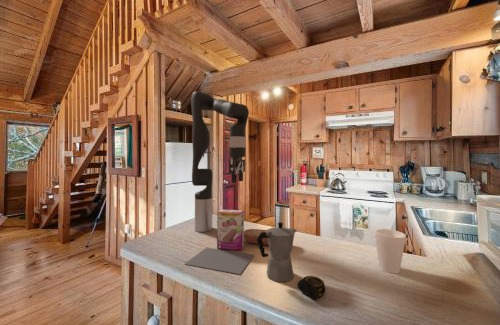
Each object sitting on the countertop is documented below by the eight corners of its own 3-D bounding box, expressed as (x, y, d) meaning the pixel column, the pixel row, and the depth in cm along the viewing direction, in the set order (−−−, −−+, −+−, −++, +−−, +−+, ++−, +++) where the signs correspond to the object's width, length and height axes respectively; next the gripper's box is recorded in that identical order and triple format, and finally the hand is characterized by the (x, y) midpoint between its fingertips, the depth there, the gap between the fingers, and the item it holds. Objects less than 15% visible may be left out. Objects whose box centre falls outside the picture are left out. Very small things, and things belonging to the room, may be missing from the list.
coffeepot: (287, 265, 84) (288, 216, 83) (304, 277, 75) (305, 223, 75) (250, 274, 77) (250, 222, 77) (264, 289, 69) (264, 230, 68)
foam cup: (394, 278, 75) (395, 239, 75) (368, 266, 83) (369, 231, 83) (410, 271, 80) (411, 235, 79) (384, 260, 88) (385, 227, 87)
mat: (206, 248, 99) (206, 247, 99) (254, 255, 92) (254, 254, 92) (184, 264, 84) (184, 263, 84) (240, 274, 77) (240, 274, 77)
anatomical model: (239, 244, 104) (240, 233, 104) (248, 237, 113) (248, 227, 113) (289, 253, 95) (289, 241, 95) (294, 244, 104) (294, 233, 104)
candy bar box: (216, 249, 97) (216, 211, 97) (219, 245, 102) (219, 209, 102) (242, 251, 96) (242, 212, 96) (244, 246, 101) (244, 209, 101)
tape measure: (296, 291, 68) (296, 279, 68) (311, 284, 72) (311, 272, 72) (314, 304, 62) (314, 290, 62) (330, 295, 66) (330, 282, 66)
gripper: (236, 147, 113) (235, 180, 114) (223, 146, 100) (223, 183, 100) (250, 147, 111) (250, 180, 111) (239, 146, 98) (239, 184, 98)
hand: (237, 181), depth 106 cm, fingers open, 7 cm apart
